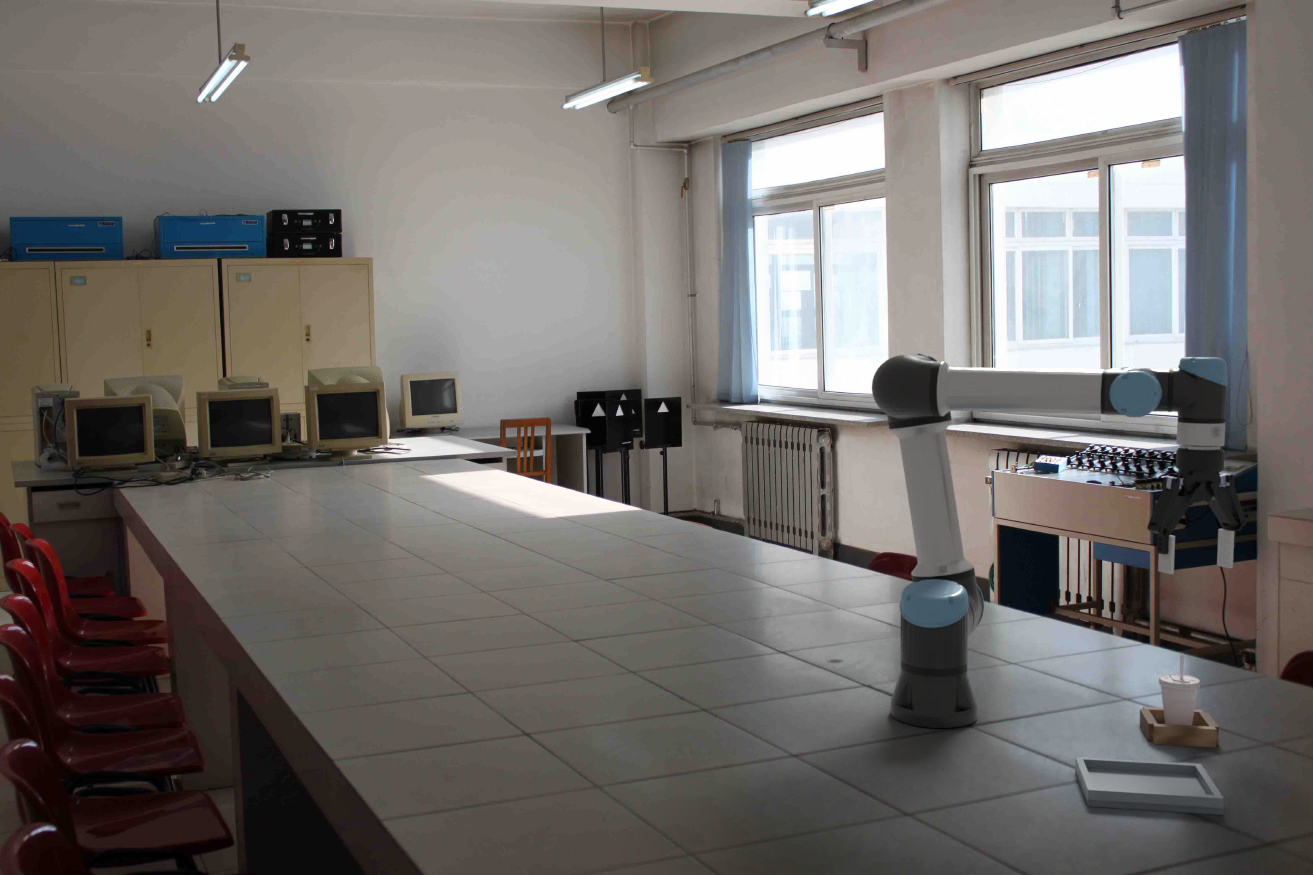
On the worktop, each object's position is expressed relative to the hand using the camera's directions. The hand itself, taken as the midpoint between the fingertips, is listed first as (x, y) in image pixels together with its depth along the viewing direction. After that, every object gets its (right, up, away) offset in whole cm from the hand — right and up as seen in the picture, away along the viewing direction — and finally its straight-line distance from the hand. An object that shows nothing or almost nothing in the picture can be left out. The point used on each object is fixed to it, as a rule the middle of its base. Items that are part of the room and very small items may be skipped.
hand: (1195, 569), depth 206 cm
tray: (-21, -29, -30) cm, 47 cm away
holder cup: (-5, -27, -5) cm, 28 cm away
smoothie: (-5, -27, -5) cm, 28 cm away
